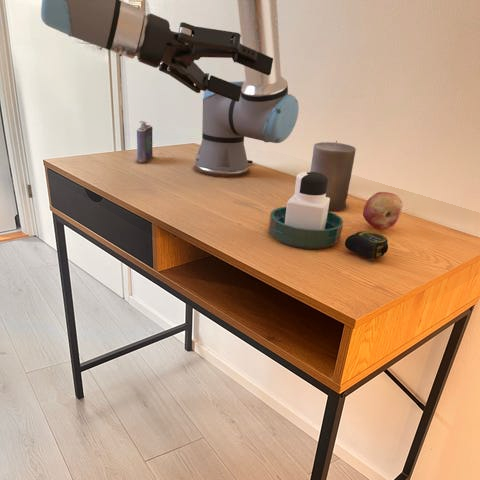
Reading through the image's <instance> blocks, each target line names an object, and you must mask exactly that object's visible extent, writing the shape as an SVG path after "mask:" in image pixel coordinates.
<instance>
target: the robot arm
mask: <svg viewBox="0 0 480 480" xmlns="http://www.w3.org/2000/svg"><path fill="white" fill-rule="evenodd" d="M236 2H237V9H238V20H239V21H238V22H239V31H240V32H235V31H228V30H222V29H217V28H216V29H215V28H208V27H204V26H203V27H202V26H195V25H192V24H190V23H187V22H183V21H181V22H180V23H179V28H178V32H176V31H172V29H171V27H170V26H171V25H170V22H169V20H168V19H166V18H163V17H160V16H158V15H156V14H154V13H147V14H146V12H145V10H144V9H142V8H140V7H137V6H135V5H133V4H130V3H128V2H125V1H123V0H41V7H40V17H41V20H42V23H44V24H45V25H46V26H47V27H48V28H52V29H54V30H56V31H58V32H60V33H63V34H65V35H67V36H68V37H72V38H75V39H77V40H80V41H83V42H86V43H88V44H91V45H93V46H97V47H99V48H103V49H105V50H107V51H110V52H114V53H116V55H117V57H122V56H124V57H126V58H128V59H132V60H133V59H134V58H135V59H137V61H138V63H142V64H144V65H147V66H150V67H152V68H155V69H157V68H158V71H160V72H162V73H164V74H166V75H169V76H170V77H172V78H173V79H174V80H176V81H178V82H179V83H181V84H182V85H184V86H185V87H187V88H189V89H190V90H191V91H192V92H194V93H196V94H200V93H201V91H202V92H203V98H202V130H201V131H202V133H201V135H202V136H201V138H202V139H201V142H200V145H199V149H198V151H197V153H196V154H195V160H194V170H195V171H196V172H197V173H201V174H204V175H208V176H212V177H222V178H233V177H234V178H235V177H241V176H245V175H247V174H248V173H249V165H250V164H253V163H254V161H253V160H251V159H250V160H249V159H248V158H247V153H246V147H245V138H249V139H253V140H258V141H262V142H264V143H273V144H281V143H282V142H285V141H286V140H287V139H288V138H289V136H291V134H292V132H293V130H294V128H295V126H296V124H297V121H298V116H299V109H300V108H299V101H298V99H297V98H296V97H295V96H294V95H293V94H291V93H290V94H289V84H288V83H289V82H288V81H287V79H285V78H284V76H282V72H281V70H282V69H281V53H280V52H281V51H280V37H279V34H280V33H279V18H278V16H279V15H278V3H277V0H236ZM201 58H213V59H214V58H218V59H220V58H221V59H231V60H232V61H233V63H236V64H240V65H241V66H243V67H244V77H245V78H244V79H245V80H242V81H227V80H225V79H222V78H220V77H217V76H215V75H212V74H211V75H210V73H209V72H204V71H203V70H202V69H201V68H200V67H199V66H198V64H196V63H195V61H199V60H200V59H201Z"/></svg>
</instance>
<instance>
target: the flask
mask: <svg viewBox="0 0 480 480" xmlns="http://www.w3.org/2000/svg"><path fill="white" fill-rule="evenodd" d="M147 123H148V122H145V120H140V121H139V124H140V127H138V128H137V130H136V149H137V151H136V152H137V154H136V155H137V163H138V164H146V163H147V162H149V161H150V160H152V159H153V157H154V156H153V155H154V153H153V125H151V124H147Z"/></svg>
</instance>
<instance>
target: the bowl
mask: <svg viewBox="0 0 480 480" xmlns="http://www.w3.org/2000/svg"><path fill="white" fill-rule="evenodd" d="M286 208H287V205H286V206H281V207H277V208H274V209H272V211H271V212H270V214H269V222H268V233H269V235H270V236H271V237H273V238H274V240H276V241H278V242H279V243H281V244H283V245H286V246H289V247H294V248H297V249H306V250H319V249H327V248H329V247H330V248H331V247H332V246H333V245H334V246H335V245H336V244H337V243H339V242H340V240H341V237H342V232H343V227H344V226H343V225H344V220H343V219H342V217H341V216H339V215H337V214H336V213H334V212H333V211H330V210H328V214H327V220H326V226H325V229H320V230H315V229H304V228H298V227H293V226H290V225H286V224H285V216H286Z"/></svg>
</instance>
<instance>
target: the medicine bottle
mask: <svg viewBox="0 0 480 480" xmlns="http://www.w3.org/2000/svg"><path fill="white" fill-rule="evenodd" d="M327 184H328V178H327V177H326V176H325V175H323V174H321V173H318V172H310V170H309V171H301V172H299V173H298V174H296V178H295V185H294V193H293V195H292V196H291V197H290V198H289V199H288V200H287V202H286V206H287V208H286V216H285V224H286V225H290V226H293V227H298V228H304V229H315V230H320V229H325V226H326V220H327V214H328V211H329V210H328V208H329V202H330V198H329V197H325V196H326V190H327Z"/></svg>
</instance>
